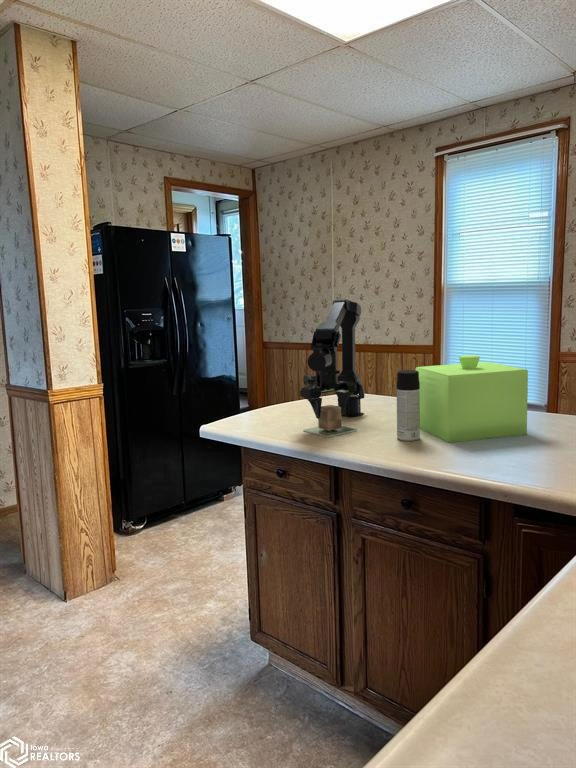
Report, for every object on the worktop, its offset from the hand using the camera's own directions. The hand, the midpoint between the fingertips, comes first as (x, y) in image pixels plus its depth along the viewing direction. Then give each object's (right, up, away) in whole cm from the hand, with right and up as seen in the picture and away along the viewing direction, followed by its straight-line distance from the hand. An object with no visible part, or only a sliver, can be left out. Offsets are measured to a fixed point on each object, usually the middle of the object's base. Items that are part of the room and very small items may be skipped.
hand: (329, 416), depth 183 cm
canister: (+42, -4, -6) cm, 43 cm away
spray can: (+22, -6, -13) cm, 26 cm away
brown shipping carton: (0, -4, +1) cm, 4 cm away
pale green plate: (0, -5, +1) cm, 5 cm away
